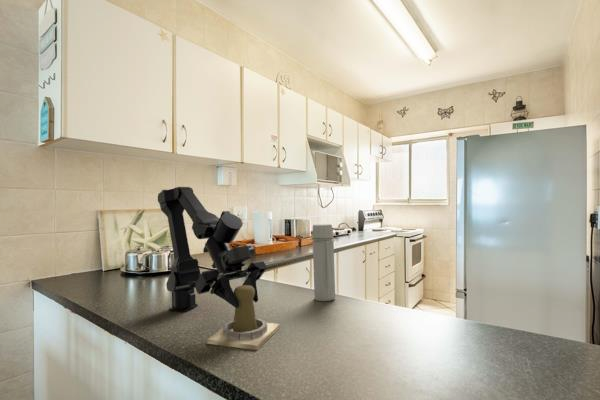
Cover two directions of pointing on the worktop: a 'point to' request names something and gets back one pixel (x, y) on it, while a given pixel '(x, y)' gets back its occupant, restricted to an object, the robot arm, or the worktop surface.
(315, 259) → the water bottle
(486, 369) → the worktop surface
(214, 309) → the worktop surface
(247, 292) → the cork
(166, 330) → the worktop surface
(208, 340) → the seat
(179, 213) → the robot arm
